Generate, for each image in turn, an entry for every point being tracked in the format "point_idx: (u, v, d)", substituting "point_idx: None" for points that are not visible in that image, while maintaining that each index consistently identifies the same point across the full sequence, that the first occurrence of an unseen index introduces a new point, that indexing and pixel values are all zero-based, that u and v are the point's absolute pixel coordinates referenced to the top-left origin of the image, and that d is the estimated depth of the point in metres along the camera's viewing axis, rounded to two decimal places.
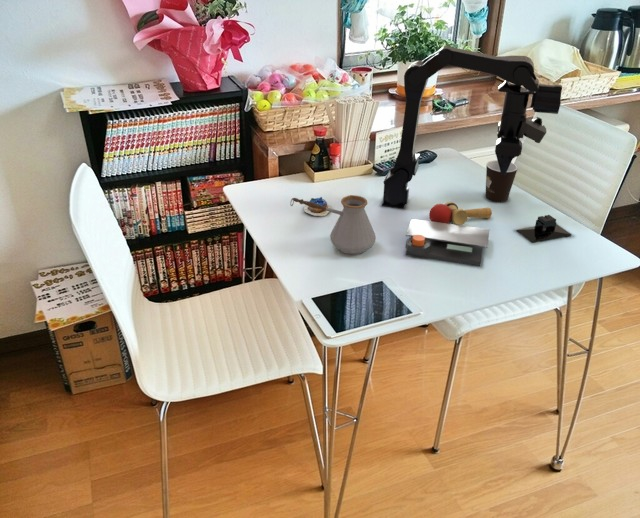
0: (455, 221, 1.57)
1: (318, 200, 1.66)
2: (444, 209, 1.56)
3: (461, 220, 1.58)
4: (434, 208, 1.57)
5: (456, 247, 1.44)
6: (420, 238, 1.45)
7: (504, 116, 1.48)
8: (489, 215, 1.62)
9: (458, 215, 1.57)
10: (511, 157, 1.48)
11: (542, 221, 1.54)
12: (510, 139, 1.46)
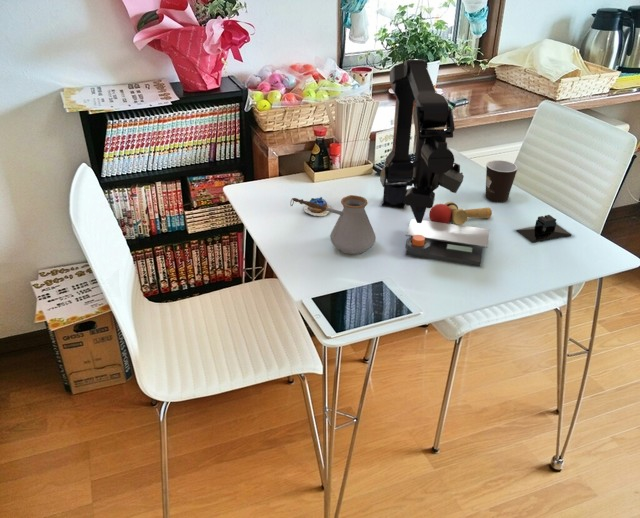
0: (455, 221, 1.57)
1: (318, 200, 1.66)
2: (444, 209, 1.56)
3: (461, 220, 1.58)
4: (434, 208, 1.57)
5: (456, 247, 1.44)
6: (420, 238, 1.45)
7: (416, 163, 1.34)
8: (489, 215, 1.62)
9: (458, 215, 1.57)
10: None
11: (542, 221, 1.53)
12: (421, 189, 1.32)
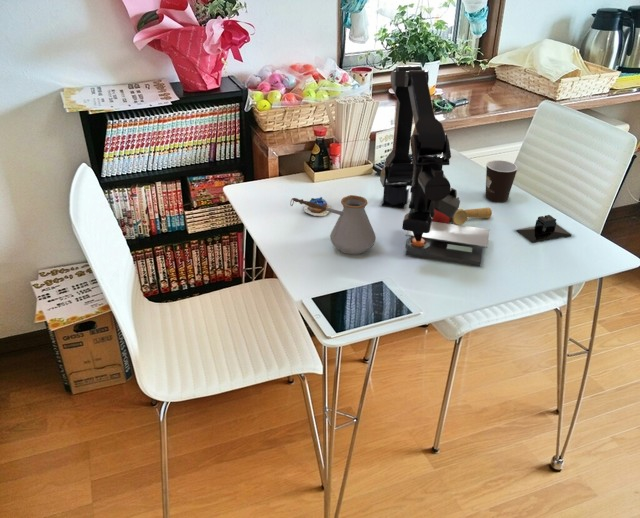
0: (455, 221, 1.57)
1: (318, 200, 1.66)
2: None
3: (461, 220, 1.58)
4: None
5: (456, 247, 1.44)
6: (420, 241, 1.45)
7: (413, 189, 1.37)
8: (489, 215, 1.62)
9: (458, 215, 1.57)
10: None
11: (542, 221, 1.53)
12: (418, 215, 1.35)
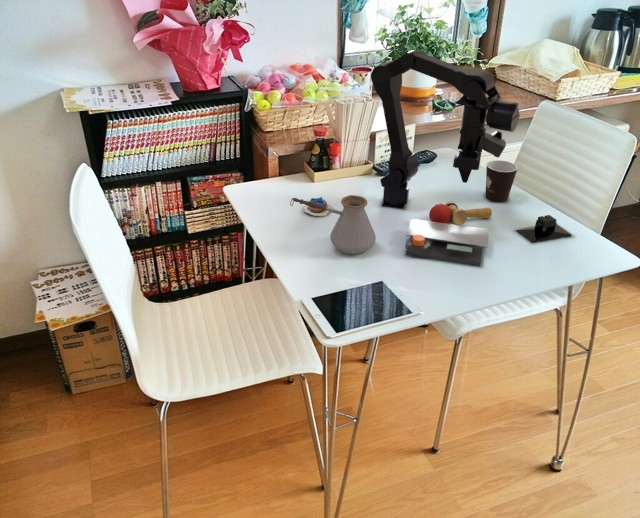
0: (455, 221, 1.57)
1: (318, 200, 1.66)
2: (444, 209, 1.56)
3: (461, 220, 1.58)
4: (434, 208, 1.57)
5: (456, 247, 1.44)
6: (420, 238, 1.45)
7: (463, 130, 1.47)
8: (489, 215, 1.62)
9: (458, 215, 1.57)
10: None
11: (542, 221, 1.53)
12: (468, 153, 1.45)
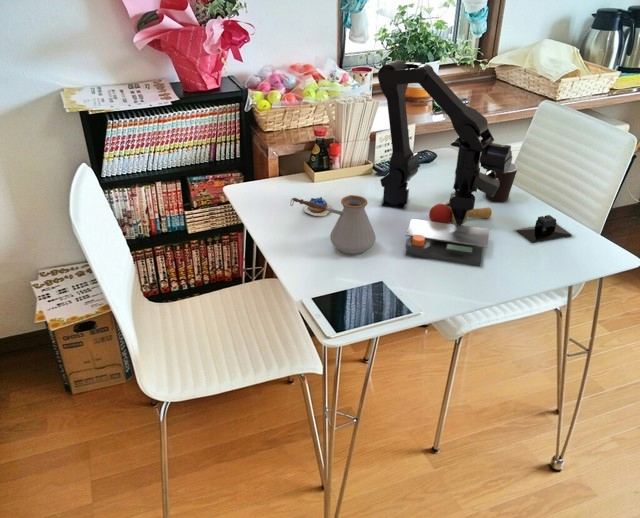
0: (455, 221, 1.57)
1: (318, 200, 1.66)
2: (444, 208, 1.56)
3: None
4: (434, 208, 1.57)
5: (456, 247, 1.44)
6: (420, 238, 1.45)
7: (458, 171, 1.52)
8: (489, 215, 1.62)
9: None
10: (466, 209, 1.53)
11: (542, 221, 1.53)
12: (463, 193, 1.51)
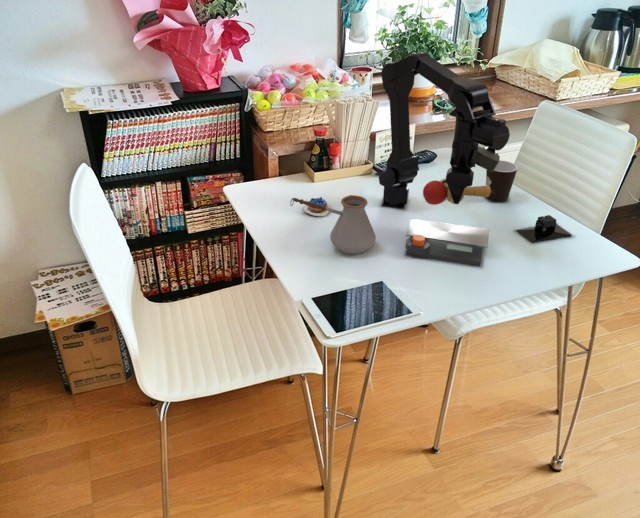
0: (450, 199, 1.46)
1: (318, 200, 1.66)
2: (439, 186, 1.45)
3: None
4: (428, 185, 1.46)
5: (456, 247, 1.44)
6: (420, 238, 1.45)
7: (455, 144, 1.41)
8: (488, 194, 1.51)
9: None
10: (463, 186, 1.41)
11: (542, 221, 1.53)
12: (461, 169, 1.39)
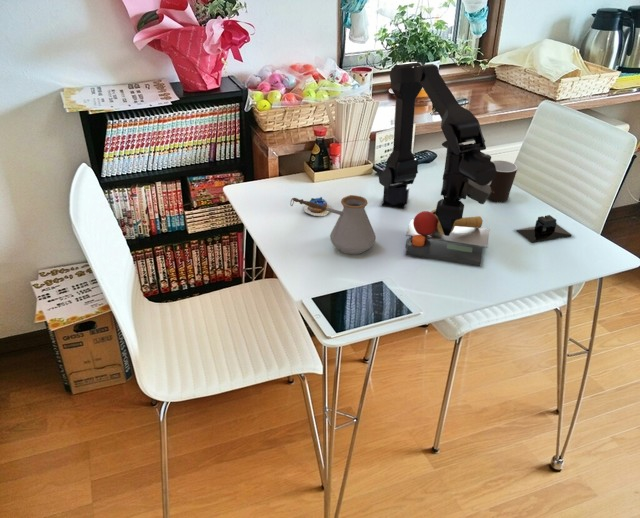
0: (441, 230, 1.46)
1: (318, 200, 1.66)
2: (429, 216, 1.45)
3: None
4: (418, 215, 1.46)
5: (456, 247, 1.44)
6: (420, 238, 1.45)
7: (446, 176, 1.40)
8: (479, 225, 1.50)
9: None
10: (454, 219, 1.41)
11: (542, 221, 1.53)
12: (451, 201, 1.39)
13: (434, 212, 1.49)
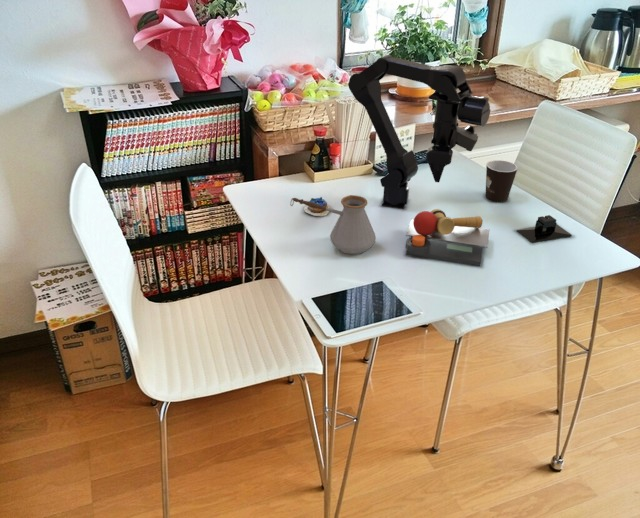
0: (441, 230, 1.46)
1: (318, 200, 1.66)
2: (429, 216, 1.45)
3: (447, 229, 1.47)
4: (418, 215, 1.46)
5: (456, 247, 1.44)
6: (420, 238, 1.45)
7: (435, 125, 1.50)
8: (479, 225, 1.50)
9: (444, 223, 1.46)
10: (443, 164, 1.50)
11: (542, 221, 1.53)
12: (441, 147, 1.48)
13: (434, 212, 1.49)
